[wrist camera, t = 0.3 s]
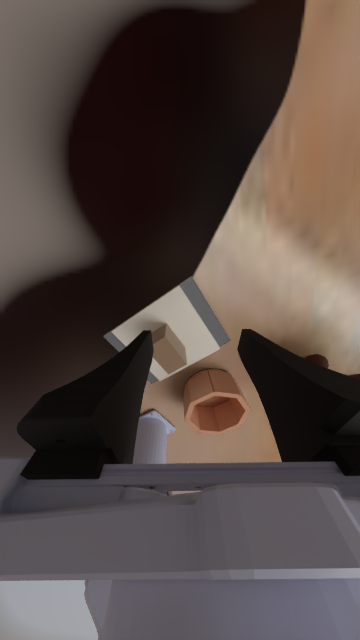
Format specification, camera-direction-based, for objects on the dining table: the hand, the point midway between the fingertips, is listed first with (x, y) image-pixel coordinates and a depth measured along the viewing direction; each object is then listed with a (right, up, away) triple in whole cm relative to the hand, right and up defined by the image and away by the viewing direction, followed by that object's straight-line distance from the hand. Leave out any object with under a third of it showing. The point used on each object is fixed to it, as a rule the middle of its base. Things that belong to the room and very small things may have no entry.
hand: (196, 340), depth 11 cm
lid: (-3, -1, +11) cm, 11 cm away
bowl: (+5, -12, +16) cm, 21 cm away
